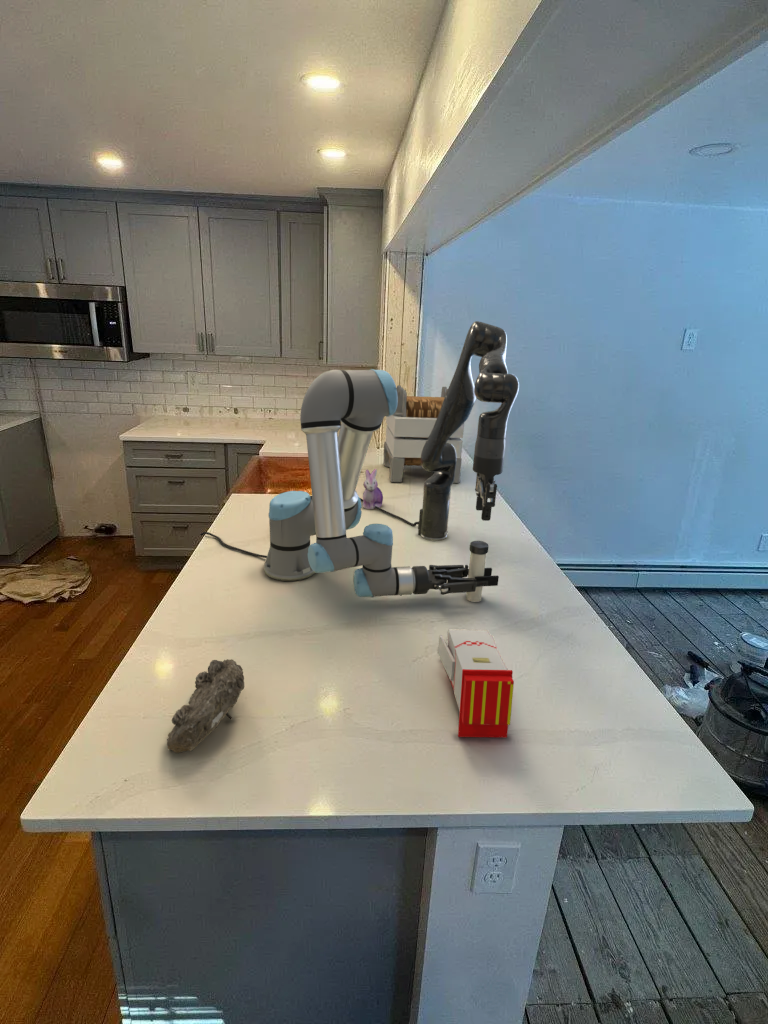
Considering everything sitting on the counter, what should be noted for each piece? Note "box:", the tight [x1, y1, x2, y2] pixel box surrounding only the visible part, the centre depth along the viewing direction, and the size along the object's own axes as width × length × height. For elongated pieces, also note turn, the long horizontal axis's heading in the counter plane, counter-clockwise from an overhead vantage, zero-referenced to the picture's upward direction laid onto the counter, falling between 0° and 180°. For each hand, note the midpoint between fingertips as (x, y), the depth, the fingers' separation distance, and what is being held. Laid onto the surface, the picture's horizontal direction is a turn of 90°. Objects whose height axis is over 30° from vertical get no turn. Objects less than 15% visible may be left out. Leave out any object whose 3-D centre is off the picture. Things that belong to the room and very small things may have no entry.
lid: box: [468, 540, 489, 555], centre depth 152 cm, size 5×5×2 cm
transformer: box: [383, 384, 465, 484], centre depth 268 cm, size 34×33×41 cm
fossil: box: [166, 658, 245, 754], centre depth 106 cm, size 22×10×15 cm
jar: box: [465, 552, 487, 603], centre depth 155 cm, size 4×4×16 cm
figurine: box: [361, 468, 384, 510], centre depth 224 cm, size 9×10×15 cm
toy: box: [437, 628, 515, 738], centre depth 117 cm, size 12×13×30 cm
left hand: (494, 576), depth 156 cm, fingers closed on jar, 4 cm apart
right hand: (482, 514), depth 149 cm, fingers open, 7 cm apart
